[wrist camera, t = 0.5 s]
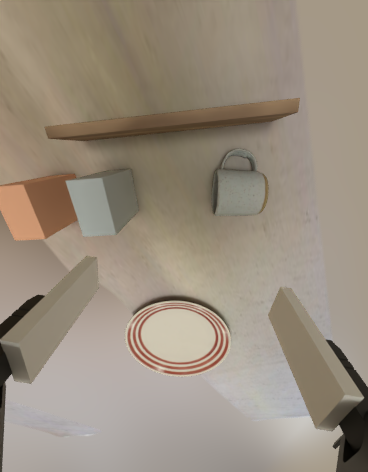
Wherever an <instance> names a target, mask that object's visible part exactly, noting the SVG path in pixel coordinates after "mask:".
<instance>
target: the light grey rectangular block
mask: <svg viewBox="0 0 368 472" xmlns="http://www.w3.org/2000/svg"><path fill="white" fill-rule="evenodd" d="M66 184H67V188H68V191H69V194H70V197H71V200H72V203H73V206H74V209H75V212H76V215H77V218H78V221H79V225H80V228H81V231H82V234H83V237H86V236H104V235H116V234H117V233H118V232H119V231H120V230H121V229H122V228H123V227H124V226H125V225H126V224H127V223H128V222H129V221H130V220H131V219H132V217H133V216H134V215H135V214H136V213H137V212H138V211H139V209H138V203H137V198H136V192H135V187H134V182H133V176H132V171H131V169H124V170H112V171H104V172H100V173H95V174H91V175H87V176H83V177H79V178H75V179H71V180H67V181H66Z"/></svg>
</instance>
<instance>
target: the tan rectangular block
mask: <svg viewBox="0 0 368 472" xmlns="http://www.w3.org/2000/svg"><path fill="white" fill-rule="evenodd" d="M75 178H76V176H75V174H67V175H55V176H47V177H42V178H37V179H31V180H26V181H21V182H15V183H10V184H5V185H0V210H1V212H2V214H3V216H4V218H5V221H6V223H7V225H8V227H9V229H10V231H11V233H12V235H13V237H14V239H15V240H32V239H46V238H48V237H49V236H51V235H53V234H55V233H56V232H58V231H60V230H61V229H63V228H65V227H66V226H68V225H70V224H71V223H73V222H75V221H76V220H78V218H77V215H76V212H75V209H74V206H73V203H72V200H71V197H70V194H69V191H68V188H67V184H66V181H67V180H71V179H75Z"/></svg>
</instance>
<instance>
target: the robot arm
mask: <svg viewBox="0 0 368 472" xmlns="http://www.w3.org/2000/svg"><path fill="white" fill-rule="evenodd" d="M98 289H99V284H98V264H97V258H96V257H90V256H86V257H85V258H84V259H83V260H82V261H81V262H80V263H79V264H78V265H77V266H76V267H75V268H74V269H73V270H71V271H70V272H69V274H68V275H66V276H65V277H64V278H63V279H62V280H61V281H60V282H59V283H58V284H57V285H56V286H55V287H54V288H53V289H52V290H51V291H50V292H49V293H48V294H47V295H46V296H43V295H36V296H35V297H33V298H31V299H29V300H27V301H26V302H25V303H24V304H23V305H22V306H21V307H20V308H19V309H18V310H16V311H15V312H14V313H13V314H12V316H9V317H8V318H7V319H6V320H5V321H4V322H3V323H2V324H0V472H2V457H3V436H4V435H3V434H4V415H5V394H6V385H5V381H6V380H7V379H8V377H9V376H10V375H11V374H12V375H13V378H14V381H16V382H23V383H29V384H31V383H32V382H33V381H34V379H35V378H36V376H37V375H38V374H39V372H40V371H41V369H42V368H43V366H44V365H45V364H46V362H47V361H48V359H49V358H50V356H51V355H52V354H53V352H54V351H55V349H56V348H57V347H58V345H59V344H60V342H61V341H62V340H63V338H64V337H65V335H66V334H67V333H68V331H69V330H70V328H71V327H72V325H73V324H74V323H75V321H76V320H77V318H78V317H79V315H80V314H81V313H82V311H83V310H84V308H85V307H86V306H87V304H88V303H89V301H90V300H91V299H92V297H93V296H94V294H95V293H96V292H97V290H98ZM268 316H269V319H270V321H271V323H272V326H273V328H274V331H275V333H276V335H277V338H278V340H279V342H280V345H281V347H282V350H283V352H284V354H285V357H286V359H287V361H288V364H289V366H290V369H291V371H292V373H293V376H294V378H295V380H296V383H297V385H298V387H299V390H300V392H301V395H302V397H303V399H304V402H305V404H306V406H307V409H308V411H309V414H310V416H311V418H312V421H313V423H314V425H315V428H316V429H321V430H327V431H333V430H334V429H335V428H336V427H337V426H338V425H340V427H341V429H342V431H343V433H344V434H343V435H342V436H341V437H340V438H339V439H338V440H337V441H336V442H335V443H334V445H333V447H334V448H335V449H336V448H337V447H338V446H339V445H340V447H339V455H338V462H337V469H336V472H368V387H367V386H366V384H365V383H364V382H363V380H362V379H361V377H360V376H359V374H358V373H357V372H356V370H354V368H353V366H352V365H351V363H350V362H348V359H347V358H346V356H345V355H344V353H343V352H342V351H341V349H340V348H338V347H337V346H336V345H335V344H334V343H333V342H332V341H331V340H325V338H324V337H323V335H322V334H321V332H320V331H319V329H318V328H317V326H316V325H315V323H314V322H313V320H312V319H311V317H310V316H309V314H308V313H307V311H306V310H305V308H304V307H303V305H302V304H301V302H300V301H299V299H298V298H297V296H296V295H295V293H294V292H293V290H292V289H291V288H285V287H280V289H279V291H278V294H277V296H276V298H275V301H274V303H273V305H272V307H271V310H270V312H269V314H268Z"/></svg>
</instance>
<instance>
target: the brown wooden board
mask: <svg viewBox="0 0 368 472" xmlns="http://www.w3.org/2000/svg"><path fill="white" fill-rule="evenodd" d="M299 101H300V98H295V99H286V100H277V101H268V102H259V103H250V104H242V105H233V106H224V107H215V108H206V109H197V110H189V111H180V112H171V113H162V114H153V115H145V116H136V117H127V118H118V119H109V120H100V121H92V122H83V123H74V124H65V125H56V126H47V127H45V130H46V133H47V136H48V139H61V140H77V141H89V140H98V139H108V138H117V137H127V136H137V135H146V134H156V133H166V132H175V131H185V130H194V129H204V128H214V127H223V126H233V125H243V124H252V123H262V122H271V121H274V120H277V119H280V118H283V117H286V116H288V115H291V114H294V113H297V112H298V108H299Z"/></svg>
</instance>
